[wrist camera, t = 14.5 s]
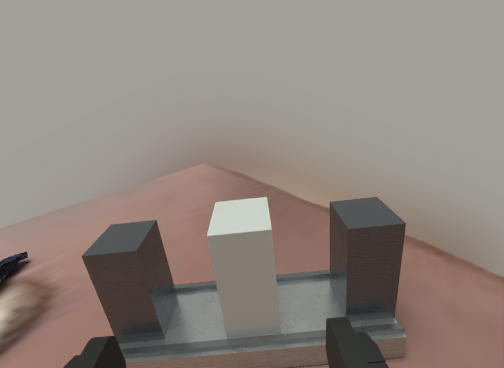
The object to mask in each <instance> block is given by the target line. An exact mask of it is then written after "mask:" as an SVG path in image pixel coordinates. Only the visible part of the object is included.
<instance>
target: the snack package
mask: <svg viewBox="0 0 504 368" xmlns="http://www.w3.org/2000/svg"><path fill="white" fill-rule="evenodd" d="M27 256H28V254H27V252H24V253H21V254H17V255H14V256H10V257H8V258H6V259H4V260H2V261H0V282H2V281H3V280H4V278H5V277H6V276H7V275H8V274H9V272H10V271H11V270H12V269H13V268H14V266H16V264H17V263H18V262H19V261H20V260H23V259H25V258H27ZM26 263H29V262H26Z"/></svg>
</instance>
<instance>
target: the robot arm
mask: <svg viewBox="0 0 504 368" xmlns="http://www.w3.org/2000/svg"><path fill="white" fill-rule="evenodd" d="M326 354H327V359H328V364H329V367H330V368H389V367H388V365H387V364H386V362H385V359H384V357H383V355H382V353H381V351H380V349H379V347H378V345H377V344H376V343H375V342H374V341H373V340H372V339H371V338H370V336H369V335H368V334H367V333H366V332H357V333H355V332H354V330H353V328H352V325H351V323H350V321H349V319H348V318H347V317H336V318H327V319H326ZM64 368H126V361H125V359H124V356H123V354H122V351H121V349H120V346H119V344H118V341H117V339H116V337H115V336H106V337H95V338H92V339H90V340H89V342H88V343H87V345H86V346H85V348H84V350H83V351H82V353H81V355H77V356H74V357H73V358H72V359H71V360H70V361H69V362H68V363H67V364H66V365H65V366H64Z"/></svg>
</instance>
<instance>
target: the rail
mask: <svg viewBox="0 0 504 368" xmlns="http://www.w3.org/2000/svg"><path fill="white" fill-rule="evenodd" d="M405 226H406V223H405V222H404V221H402V219H401V218H399V217H398V216H397V215H396V214H395V213H394V212H393V211H392V210H391V209H389V208H388V207H387V206H386V205H385V204H384V203H383V202H382V201H380V200H379V199H378V198H377V197H373V198H363V199H353V200H344V201H334V202H330V270H323V271H313V272H302V273H292V274H282V275H276V282H277V292H278V303H279V314H280V325H281V333H278V334H267V335H256V336H244V337H233V338H227V335H226V330H225V325H224V320H223V315H222V310H221V305H220V300H219V295H218V290H217V285H216V281H211V282H201V283H190V284H180V285H174V283H173V280H172V276H171V272H170V269H169V265H168V261H167V258H166V254H165V250H164V247H163V243H162V239H161V236H160V232H159V228H158V225H157V221H156V220H152V221H142V222H133V223H123V224H114V225H110V227H109V228H108V229H107V230H106V231H105V232H104V233H103V234H102V235H101V236H100V237H99V238H98V239H97V240H96V241H95V243H94V244H93V245H92V246H91V247H90V248H89V249H88V250H87V251H86V252H85V253H84V254H83V255H82V258H83V261H84V263H85V266H86V268H87V270H88V273H89V275H90V278H91V280H92V283H93V285H94V287H95V290H96V292H97V295H98V297H99V299H100V302H101V304H102V307H103V309H104V311H105V314H106V316H107V319H108V321H109V323H110V326H111V328H112V331H113V333H114V336H115V337H116V339H117V341H118V344H119V346H120V349H121V351H122V354H123V356H124V359H125V361H126V368H290V367H301V366H312V365H323V364H328V359H327V354H326V319H327V318H336V317H347V318H348V319H349V321H350V323H351V325H352V328H353V330H354V332H355V333H357V332H366V333H367V334H368V335H369V336H370V338H371V339H372V340H373V341H374V342H375V343H376V344H377V345H378V347H379V349H380V351H381V353H382V355H383V357H384V359H390V358H401V357H404V351H405V344H406V338H407V337H406V335H405V334H404V327H403V326H402V324H401V323H397V321H396V319H395V318H394V317H395V309H396V301H397V292H398V284H399V276H400V268H401V259H402V251H403V243H404V234H405Z"/></svg>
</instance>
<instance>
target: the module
mask: <svg viewBox="0 0 504 368" xmlns="http://www.w3.org/2000/svg"><path fill="white" fill-rule="evenodd" d="M207 240H208V245H209V250H210V255H211V260H212V265H213V270H214V275H215V280H216V285H217V290H218V295H219V300H220V305H221V310H222V315H223V320H224V325H225V330H226V335H227V338H233V337H244V336H256V335H267V334H278V333H281V325H280V314H279V303H278V292H277V282H276V271H275V260H274V249H273V238H272V228H271V222H270V216H269V209H268V203H267V197H262V198H253V199H243V200H233V201H224V202H216V203H215V207H214V211H213V214H212V218H211V222H210V226H209V229H208V233H207Z"/></svg>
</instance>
